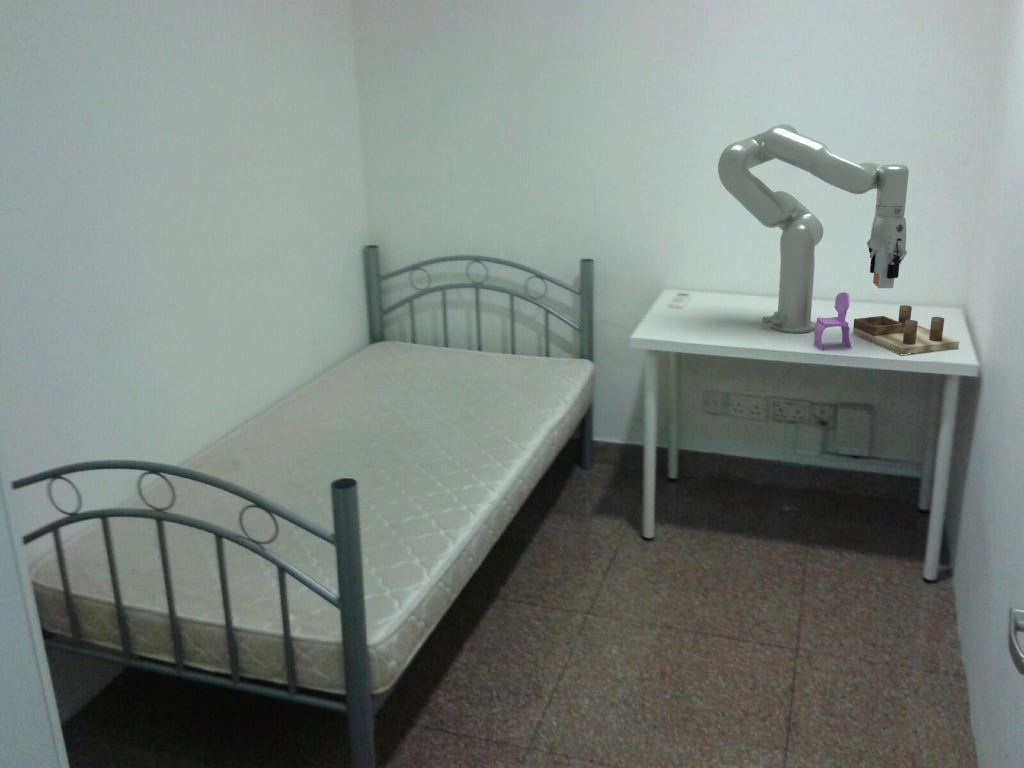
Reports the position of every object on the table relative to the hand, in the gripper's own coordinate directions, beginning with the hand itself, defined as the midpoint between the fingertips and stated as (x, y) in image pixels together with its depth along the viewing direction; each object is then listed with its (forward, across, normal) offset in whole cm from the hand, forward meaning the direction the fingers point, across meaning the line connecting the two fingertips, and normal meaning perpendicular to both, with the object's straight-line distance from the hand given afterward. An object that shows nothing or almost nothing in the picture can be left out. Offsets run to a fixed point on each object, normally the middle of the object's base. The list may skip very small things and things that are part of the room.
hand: (883, 274), depth 271 cm
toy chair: (+18, -3, +17) cm, 25 cm away
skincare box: (+3, 0, 0) cm, 3 cm away
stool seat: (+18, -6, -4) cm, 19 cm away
